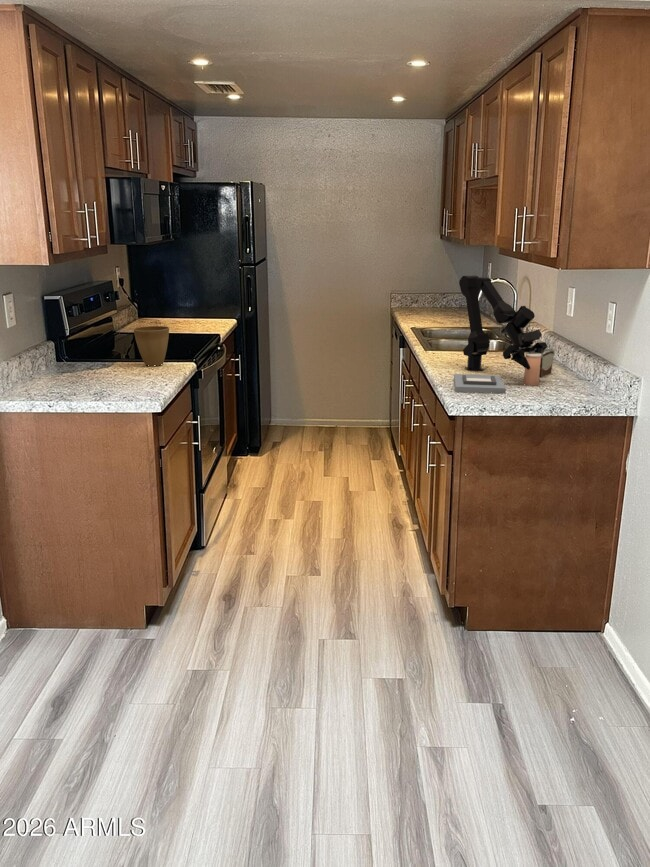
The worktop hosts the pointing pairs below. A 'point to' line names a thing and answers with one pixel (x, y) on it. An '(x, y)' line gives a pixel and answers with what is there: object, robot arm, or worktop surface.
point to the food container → (546, 362)
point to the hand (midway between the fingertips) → (535, 368)
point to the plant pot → (152, 343)
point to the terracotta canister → (532, 369)
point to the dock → (479, 383)
